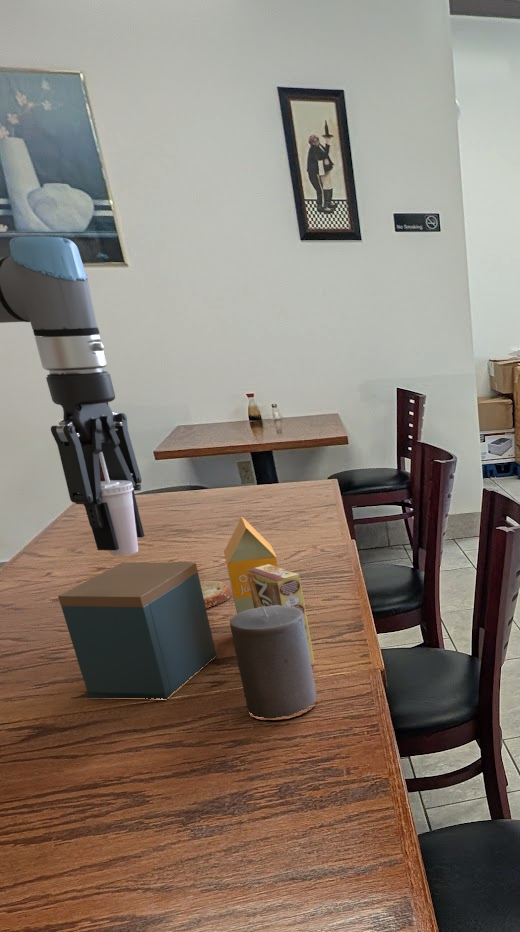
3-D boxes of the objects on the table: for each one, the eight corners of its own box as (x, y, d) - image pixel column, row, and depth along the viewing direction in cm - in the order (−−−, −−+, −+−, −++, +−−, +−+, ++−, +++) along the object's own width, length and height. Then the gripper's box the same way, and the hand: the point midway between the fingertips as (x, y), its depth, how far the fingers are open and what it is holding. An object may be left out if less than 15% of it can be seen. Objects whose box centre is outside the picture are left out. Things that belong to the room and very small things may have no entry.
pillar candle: (241, 725, 113) (219, 623, 106) (254, 694, 121) (234, 598, 115) (314, 718, 114) (297, 617, 107) (321, 689, 123) (306, 593, 116)
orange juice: (243, 647, 138) (219, 530, 129) (239, 630, 145) (216, 518, 136) (291, 639, 141) (271, 524, 132) (284, 623, 148) (265, 512, 139)
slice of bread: (240, 592, 164) (237, 574, 162) (188, 624, 148) (184, 605, 146) (159, 589, 167) (155, 571, 165) (100, 620, 151) (94, 601, 149)
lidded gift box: (89, 699, 121) (57, 596, 114) (146, 656, 135) (122, 562, 128) (166, 700, 120) (140, 596, 113) (216, 657, 134) (195, 562, 127)
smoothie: (153, 544, 122) (130, 447, 116) (141, 556, 116) (116, 455, 110) (108, 547, 121) (82, 449, 115) (93, 559, 115) (65, 457, 109)
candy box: (316, 666, 130) (301, 573, 124) (293, 674, 127) (276, 580, 121) (285, 652, 135) (269, 563, 129) (262, 660, 133) (244, 569, 126)
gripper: (58, 377, 99) (108, 562, 109) (143, 365, 116) (179, 526, 126) (0, 378, 100) (55, 562, 110) (92, 365, 117) (133, 526, 127)
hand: (121, 542), depth 118 cm, fingers closed on smoothie, 6 cm apart
